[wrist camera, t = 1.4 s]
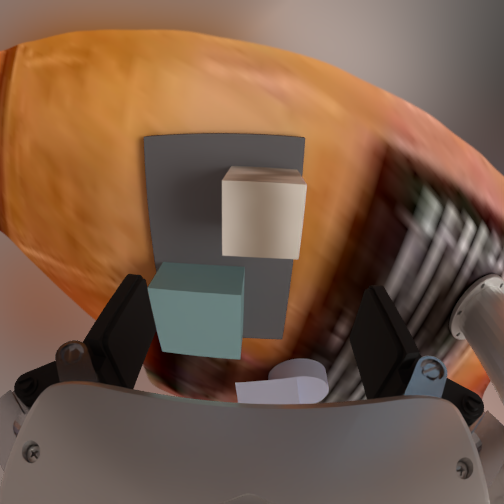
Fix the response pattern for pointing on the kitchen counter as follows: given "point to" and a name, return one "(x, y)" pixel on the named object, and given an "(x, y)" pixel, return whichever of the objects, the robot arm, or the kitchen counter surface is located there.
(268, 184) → the cream cube
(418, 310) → the kitchen counter surface
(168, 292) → the plinth
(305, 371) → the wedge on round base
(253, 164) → the mat
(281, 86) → the kitchen counter surface
